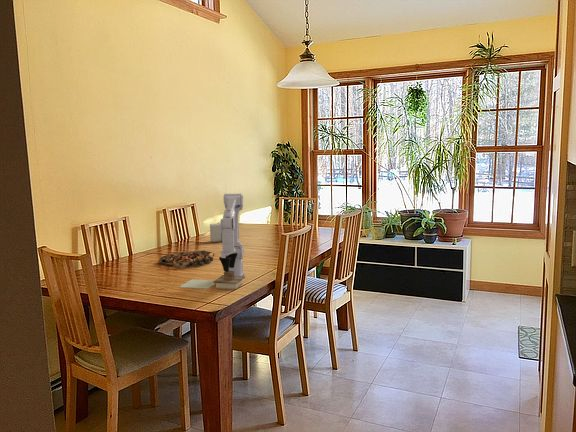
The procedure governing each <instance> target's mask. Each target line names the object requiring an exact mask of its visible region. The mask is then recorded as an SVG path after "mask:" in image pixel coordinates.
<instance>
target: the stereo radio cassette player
mask: <svg viewBox="0 0 576 432" xmlns="http://www.w3.org/2000/svg"><path fill="white" fill-rule="evenodd" d="M209 236H210V241H211V242H212V243H219V242H222V233H221V226H220V221H218V222H216V223H210V224H209ZM238 240H240V223H239V222H238Z"/></svg>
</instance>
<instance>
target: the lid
mask: <svg viewBox="0 0 576 432" xmlns="http://www.w3.org/2000/svg"><path fill="white" fill-rule="evenodd" d="M245 278H246V276H244V275H243V276H235V273H234V271H228V272H225V271H224V272H223V274H222V275H220V276H219V277H218V278H217V279H215V280H214V281H213V283H228V284H237V283H239V282H240V281H241V280H242V281H243V279H245Z"/></svg>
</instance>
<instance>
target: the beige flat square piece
mask: <svg viewBox="0 0 576 432" xmlns="http://www.w3.org/2000/svg"><path fill="white" fill-rule="evenodd" d="M213 281H215V280H213V279H211V280H210V279H196V278H195V279H190V280H188V281H187V282H185V283H183V284H182V285H180V286H178V288H180V289H181V288H182V289H183V288H184V289H198V290H199V289H200V290H209V289H210V288H212V287H213V286H214V285H216V283H213Z"/></svg>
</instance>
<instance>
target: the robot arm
mask: <svg viewBox="0 0 576 432" xmlns="http://www.w3.org/2000/svg"><path fill="white" fill-rule="evenodd" d="M223 205H224V208H225V209H224V211H223V216H222V218H220V221H219V223H220V226H221V233H222V241H221V242H222V246H221V247H222V249H221V250H220V253H221V254H220V256H219V257H218V260H219V261H220V263H221V266H222V269H223V271H224V272H228V271H234V273H235V276H244V275H245V272H244V263H243V258H244V254H245V253H244V246H243V244H242V243H241V242H240V241H239V239H238V223H239V214H240V212H241V211H242V210H243V209H244V194H242V193H241V192H240V193H224V194H223Z"/></svg>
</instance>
